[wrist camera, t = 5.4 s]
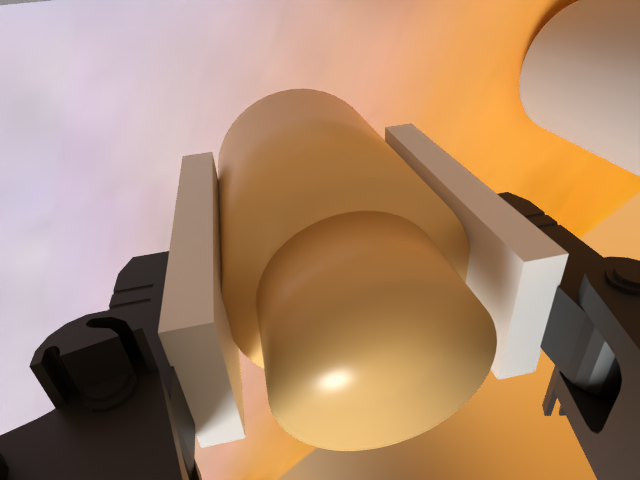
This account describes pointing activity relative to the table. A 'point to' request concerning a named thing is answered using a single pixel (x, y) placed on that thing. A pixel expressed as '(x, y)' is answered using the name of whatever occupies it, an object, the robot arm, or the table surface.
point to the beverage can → (588, 79)
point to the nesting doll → (345, 277)
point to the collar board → (18, 1)
